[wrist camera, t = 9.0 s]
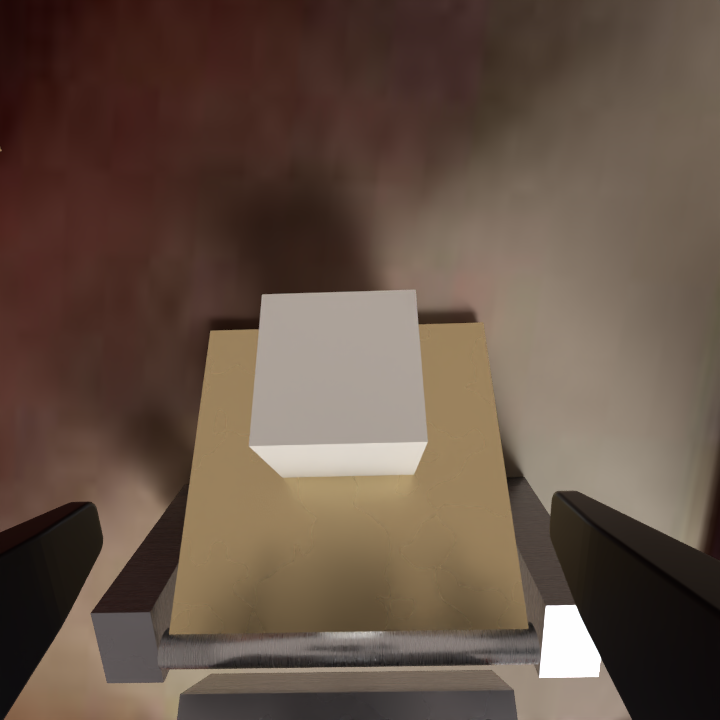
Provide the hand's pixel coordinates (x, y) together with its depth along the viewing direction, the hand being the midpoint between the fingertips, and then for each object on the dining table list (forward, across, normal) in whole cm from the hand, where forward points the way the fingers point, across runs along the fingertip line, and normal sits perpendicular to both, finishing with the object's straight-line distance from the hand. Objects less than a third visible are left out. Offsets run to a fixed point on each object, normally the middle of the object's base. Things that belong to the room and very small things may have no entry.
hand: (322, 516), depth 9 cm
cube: (+9, 0, +2) cm, 9 cm away
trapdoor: (+7, 0, +7) cm, 10 cm away
